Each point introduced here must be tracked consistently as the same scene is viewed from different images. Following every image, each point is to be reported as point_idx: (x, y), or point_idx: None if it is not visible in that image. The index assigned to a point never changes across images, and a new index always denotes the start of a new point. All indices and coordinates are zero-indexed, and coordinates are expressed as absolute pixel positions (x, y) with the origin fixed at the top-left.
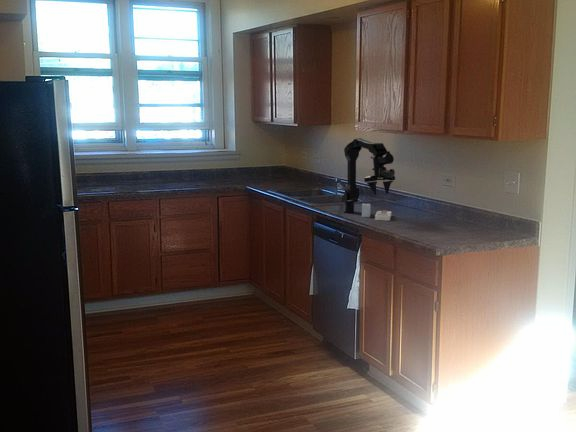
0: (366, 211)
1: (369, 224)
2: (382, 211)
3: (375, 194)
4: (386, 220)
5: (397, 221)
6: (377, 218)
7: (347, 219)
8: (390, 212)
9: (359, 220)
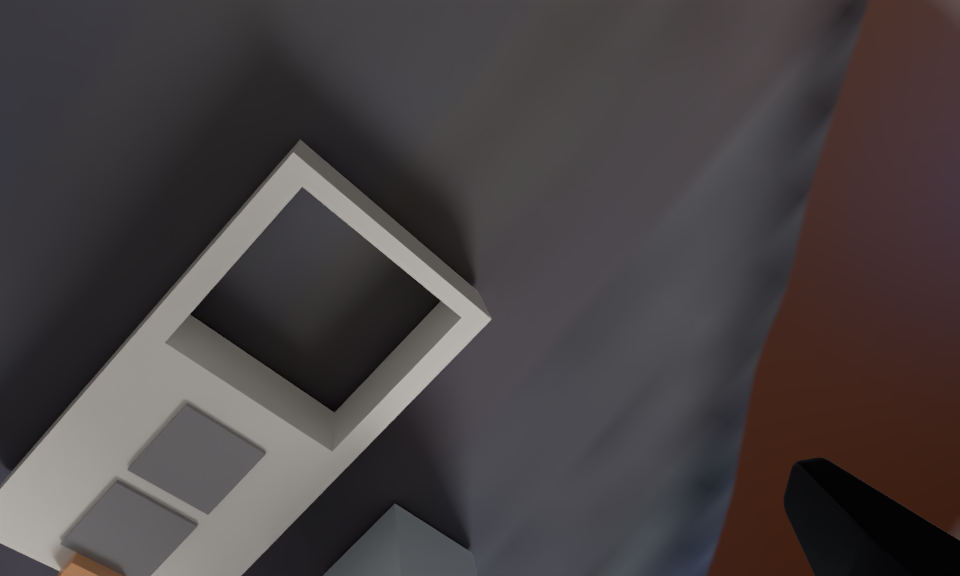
0: None
1: (766, 60)
2: (144, 558)
3: (821, 464)
4: (340, 175)
5: (190, 26)
6: (455, 276)
7: (717, 491)
8: (42, 455)
9: (652, 381)
